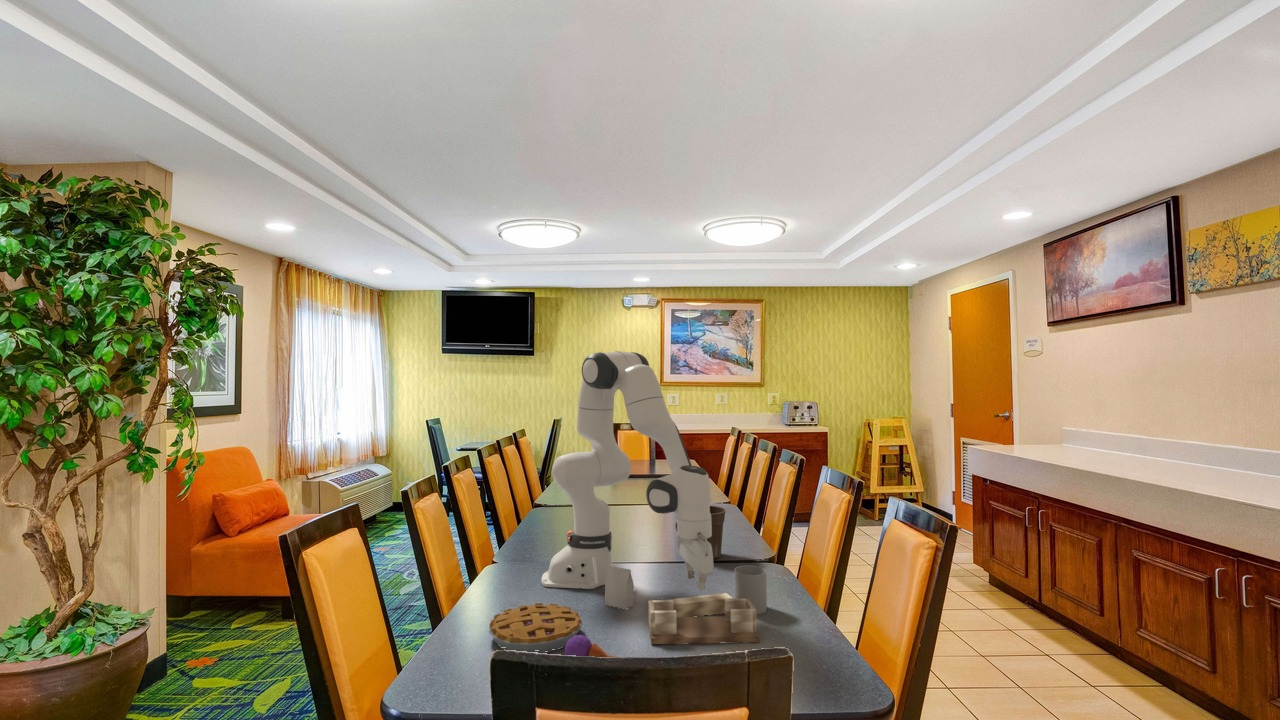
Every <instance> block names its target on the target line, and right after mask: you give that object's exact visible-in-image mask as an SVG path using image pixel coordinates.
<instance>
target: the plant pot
mask: <svg viewBox="0 0 1280 720" xmlns="http://www.w3.org/2000/svg"><path fill="white" fill-rule="evenodd" d="M726 513H727V509H726V508H725V507H723V506H722V507H721V506H717V505H710V514H711V526H712V536H711V537H709V538H707V541H708V542H709V543H710V544H711V546H712V552H713V560H716V559H720V558H721V556H722V545H723V531H724V523H725V518H726V517H725V515H726Z"/></svg>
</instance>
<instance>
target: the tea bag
mask: <svg viewBox="0 0 1280 720" xmlns="http://www.w3.org/2000/svg"><path fill="white" fill-rule="evenodd" d="M631 571H632V570H631V569H628V568H623V567H617V566H614V565H612V566H608V573H607V577H606V581H605V585H604V605H605V606H606V605H609V606H608V607H611V606H614V607H613V608H615V607H618V608H617V609H620V608H624V609H623V610H625V609H627V608H629V607H630V608H632V607H633V606H634V580H633V577H632V573H631ZM632 605H633V606H632ZM631 606H632V607H631ZM630 608H629V609H630ZM627 610H628V609H627Z"/></svg>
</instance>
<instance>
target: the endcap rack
mask: <svg viewBox="0 0 1280 720" xmlns="http://www.w3.org/2000/svg"><path fill="white" fill-rule="evenodd" d="M648 626H649V627H648ZM647 627H648V633H649V638H650V645H651V644H676V645H685V644H684V643H720V642H743V643H742V644H750V643H749V642H756V643H757V644H760V635H759V633H758V614H757V610H756V609H755V607H754V605H753V604H752V602H751V601H750V599H735V598H733V599H725V613H724V615H719V616H717V615H715V616H713V615H711V616H699V617H676V610H673V600H667V599H660V600H659V599H658V600H657V599H653V600H648V618H647ZM747 642H748V643H747ZM756 643H755V644H756ZM720 644H721V643H720Z"/></svg>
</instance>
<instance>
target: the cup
mask: <svg viewBox="0 0 1280 720" xmlns="http://www.w3.org/2000/svg"><path fill="white" fill-rule="evenodd" d="M767 596H768V595H767V570H766V569H765V568H763V567H760V566H757V565H740V566H736V567H735V568H734V599H750V601H751V602H752V604H753V605H754V607H755V609H756V610H757V615H760V614H763V613H766V611H767V604H768V603H767V601H768V600H767V599H768V598H767Z"/></svg>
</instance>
